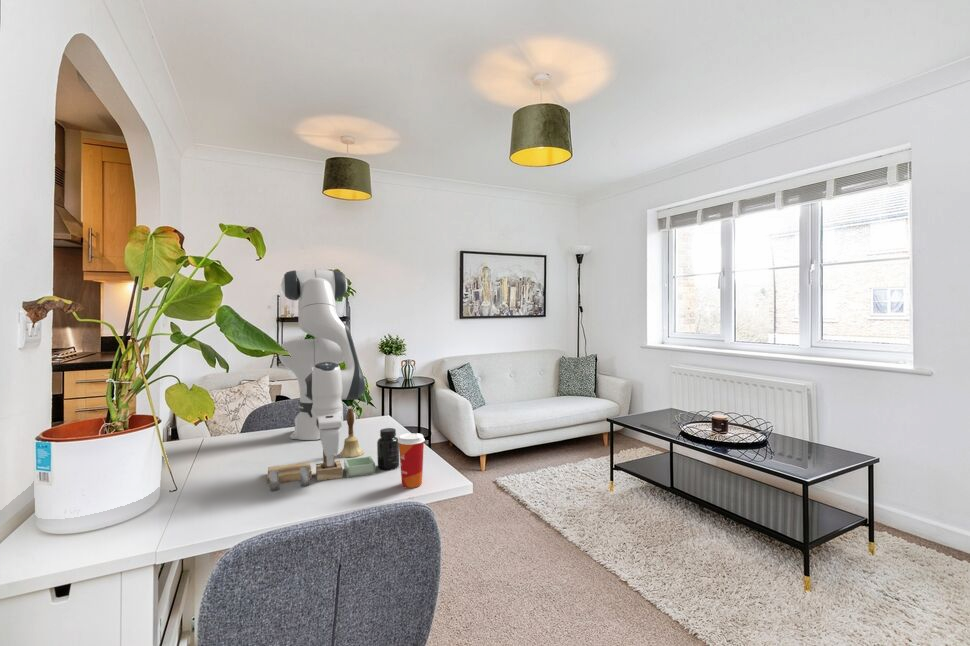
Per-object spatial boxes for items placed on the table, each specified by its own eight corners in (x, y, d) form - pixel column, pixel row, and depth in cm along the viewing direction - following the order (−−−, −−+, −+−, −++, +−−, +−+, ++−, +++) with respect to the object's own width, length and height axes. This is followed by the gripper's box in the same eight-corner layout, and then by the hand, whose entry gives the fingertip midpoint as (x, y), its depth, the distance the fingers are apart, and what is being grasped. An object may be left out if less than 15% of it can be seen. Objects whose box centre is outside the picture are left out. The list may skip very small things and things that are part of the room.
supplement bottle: (373, 467, 147) (372, 430, 147) (391, 462, 152) (390, 425, 152) (385, 472, 142) (385, 433, 142) (403, 466, 147) (403, 429, 147)
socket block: (316, 473, 142) (316, 463, 142) (339, 470, 145) (339, 460, 145) (317, 481, 135) (317, 471, 135) (342, 477, 138) (342, 467, 138)
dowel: (323, 474, 141) (322, 445, 141) (334, 473, 142) (333, 444, 142) (324, 478, 138) (323, 448, 138) (335, 476, 139) (334, 446, 139)
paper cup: (401, 479, 136) (400, 432, 136) (427, 479, 136) (426, 432, 135) (395, 490, 128) (394, 439, 128) (423, 490, 128) (422, 439, 127)
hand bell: (334, 457, 158) (333, 410, 158) (347, 450, 166) (346, 405, 166) (355, 458, 156) (354, 411, 156) (368, 451, 164) (367, 406, 164)
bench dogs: (269, 488, 130) (269, 471, 130) (309, 482, 134) (308, 465, 134) (269, 491, 128) (269, 473, 128) (309, 485, 132) (309, 468, 132)
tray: (344, 469, 146) (344, 459, 146) (370, 465, 149) (370, 456, 149) (347, 477, 138) (347, 467, 138) (375, 473, 141) (375, 463, 141)
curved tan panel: (268, 475, 142) (268, 467, 142) (309, 469, 147) (309, 461, 147) (267, 486, 133) (267, 477, 133) (311, 479, 138) (311, 471, 138)
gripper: (314, 410, 148) (315, 453, 148) (319, 425, 129) (320, 474, 129) (335, 409, 150) (336, 451, 151) (342, 422, 132) (343, 470, 132)
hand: (328, 462), depth 140 cm, fingers open, 5 cm apart
